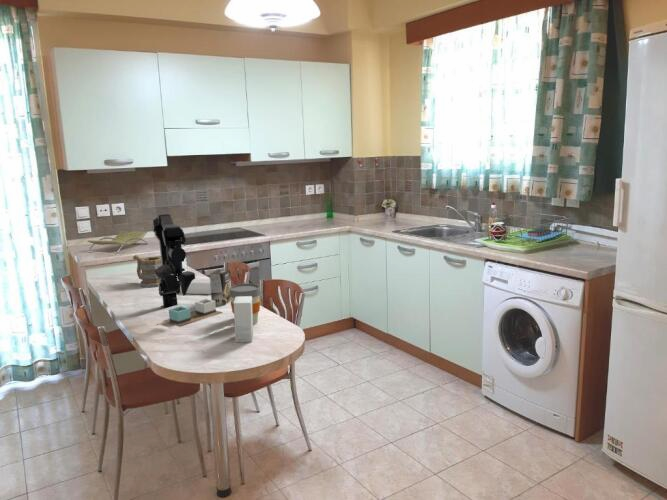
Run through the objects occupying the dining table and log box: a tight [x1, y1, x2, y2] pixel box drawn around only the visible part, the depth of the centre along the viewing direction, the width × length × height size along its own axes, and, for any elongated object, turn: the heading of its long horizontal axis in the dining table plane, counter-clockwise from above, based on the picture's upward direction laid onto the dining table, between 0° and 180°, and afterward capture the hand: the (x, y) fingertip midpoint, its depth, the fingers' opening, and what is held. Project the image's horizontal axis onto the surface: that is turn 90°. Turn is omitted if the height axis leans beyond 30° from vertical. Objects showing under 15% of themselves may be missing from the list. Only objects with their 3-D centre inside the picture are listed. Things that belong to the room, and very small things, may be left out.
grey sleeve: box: [194, 298, 217, 316], centre depth 226 cm, size 6×6×5 cm
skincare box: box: [233, 296, 254, 344], centre depth 198 cm, size 8×7×16 cm
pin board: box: [162, 302, 223, 327], centre depth 221 cm, size 12×22×6 cm, turn 142°
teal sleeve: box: [168, 305, 191, 324], centre depth 216 cm, size 6×6×5 cm
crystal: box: [180, 278, 211, 295], centre depth 264 cm, size 7×7×24 cm
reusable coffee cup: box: [230, 283, 262, 326], centre depth 216 cm, size 13×13×15 cm
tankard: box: [132, 254, 162, 289], centre depth 282 cm, size 20×13×15 cm, turn 58°
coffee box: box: [209, 268, 232, 307], centre depth 240 cm, size 9×6×16 cm
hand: (177, 293), depth 220 cm, fingers open, 9 cm apart
